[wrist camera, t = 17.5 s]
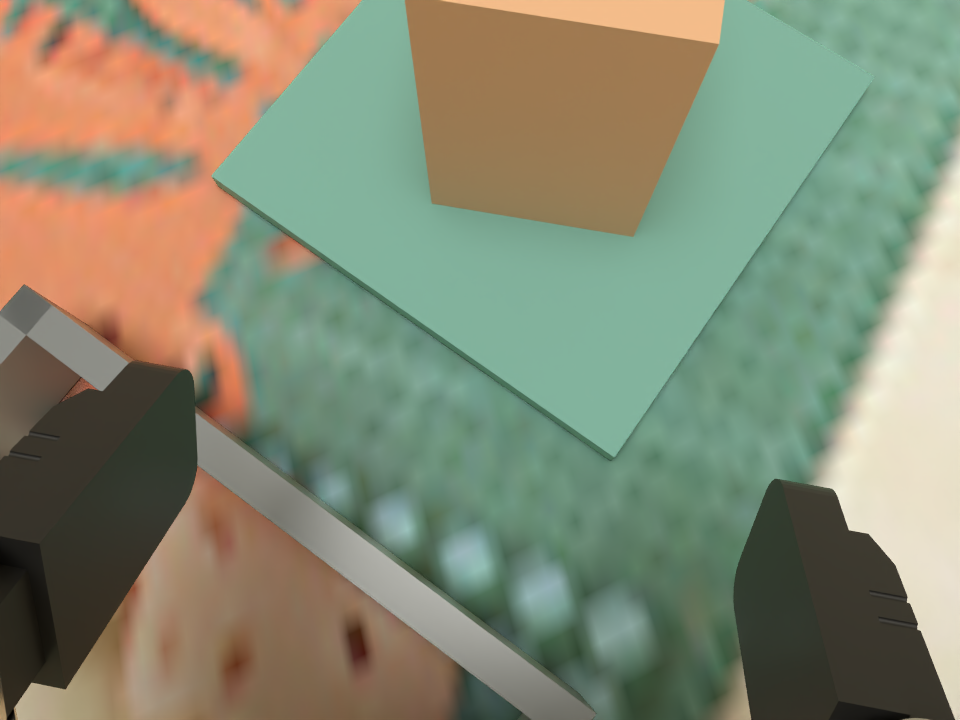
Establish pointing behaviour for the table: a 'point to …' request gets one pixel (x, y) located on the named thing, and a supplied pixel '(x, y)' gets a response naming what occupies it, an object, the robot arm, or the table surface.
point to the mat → (539, 245)
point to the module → (556, 102)
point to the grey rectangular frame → (270, 504)
